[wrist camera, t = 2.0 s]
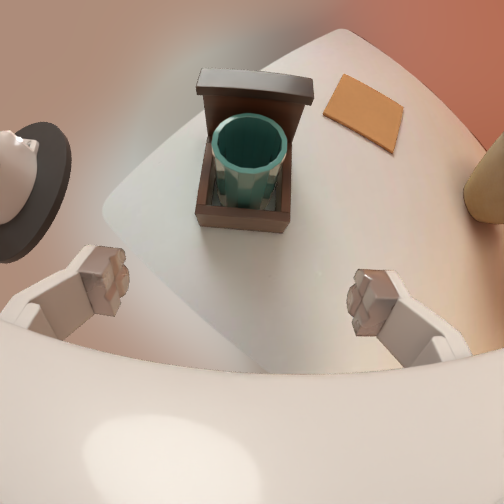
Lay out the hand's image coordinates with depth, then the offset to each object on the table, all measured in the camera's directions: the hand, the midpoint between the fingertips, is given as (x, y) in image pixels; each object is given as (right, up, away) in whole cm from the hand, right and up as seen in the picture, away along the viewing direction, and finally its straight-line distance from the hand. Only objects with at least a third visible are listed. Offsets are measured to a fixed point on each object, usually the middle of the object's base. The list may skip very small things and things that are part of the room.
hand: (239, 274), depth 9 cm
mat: (+19, +23, +28) cm, 41 cm away
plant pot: (+40, +9, +27) cm, 49 cm away
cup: (0, +8, +24) cm, 25 cm away
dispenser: (0, +9, +24) cm, 26 cm away
